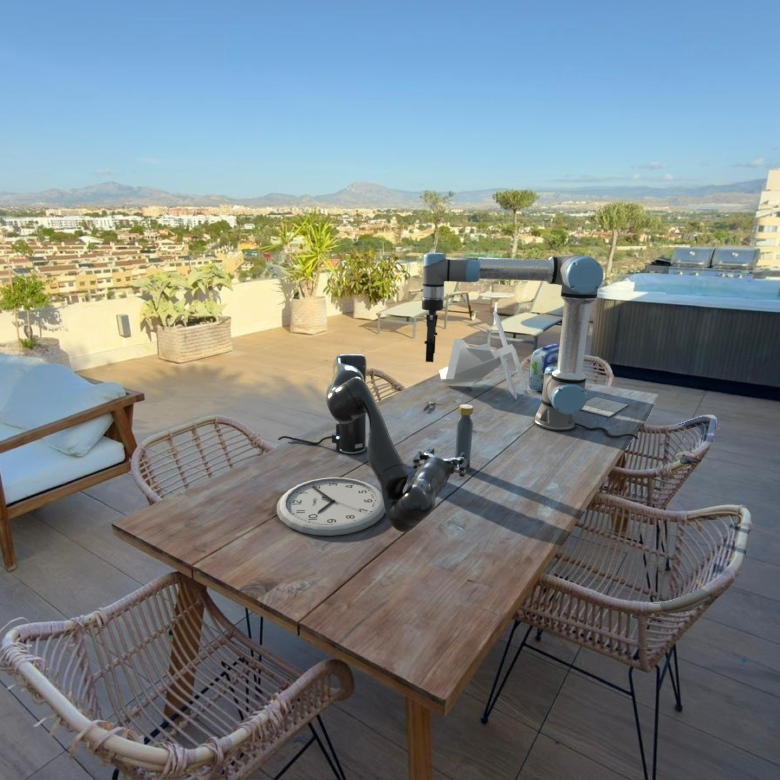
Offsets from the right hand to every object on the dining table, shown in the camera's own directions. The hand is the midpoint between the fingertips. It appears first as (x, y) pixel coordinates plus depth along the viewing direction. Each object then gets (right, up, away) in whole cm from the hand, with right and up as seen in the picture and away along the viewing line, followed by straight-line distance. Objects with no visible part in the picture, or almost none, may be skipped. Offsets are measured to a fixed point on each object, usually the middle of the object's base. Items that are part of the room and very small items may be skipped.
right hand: (430, 357), depth 190 cm
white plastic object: (+27, -13, +54) cm, 61 cm away
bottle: (+8, -37, -23) cm, 44 cm away
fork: (+2, -19, +33) cm, 38 cm away
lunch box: (+62, -11, +62) cm, 88 cm away
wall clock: (-30, -43, -47) cm, 71 cm away
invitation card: (+77, -19, +37) cm, 87 cm away
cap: (+9, -17, -29) cm, 35 cm away
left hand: (+1, -29, -46) cm, 55 cm away
